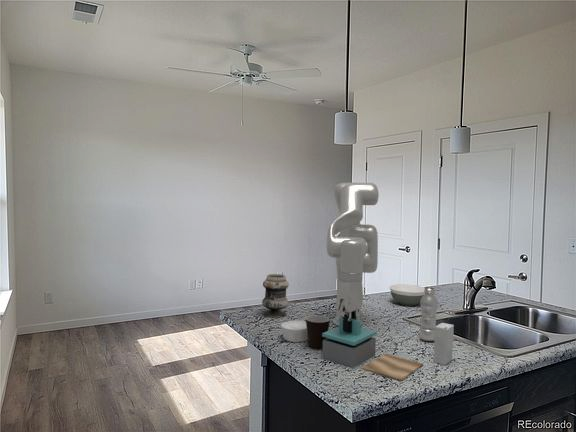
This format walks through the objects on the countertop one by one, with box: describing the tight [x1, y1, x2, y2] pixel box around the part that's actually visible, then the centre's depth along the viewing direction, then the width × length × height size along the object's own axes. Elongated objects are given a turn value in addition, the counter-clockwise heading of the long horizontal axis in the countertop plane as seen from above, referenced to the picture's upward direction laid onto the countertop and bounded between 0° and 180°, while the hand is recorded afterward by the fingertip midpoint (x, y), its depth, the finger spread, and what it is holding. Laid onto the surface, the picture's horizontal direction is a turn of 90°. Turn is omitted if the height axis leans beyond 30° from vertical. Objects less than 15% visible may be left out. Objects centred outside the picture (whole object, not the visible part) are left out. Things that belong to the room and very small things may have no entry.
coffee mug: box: [305, 315, 331, 351], centre depth 150 cm, size 12×9×10 cm
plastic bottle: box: [418, 286, 439, 342], centre depth 157 cm, size 6×7×20 cm
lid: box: [322, 317, 378, 346], centre depth 139 cm, size 14×12×6 cm
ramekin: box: [280, 320, 308, 343], centre depth 157 cm, size 11×11×5 cm
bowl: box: [389, 283, 425, 307], centre depth 213 cm, size 19×19×8 cm
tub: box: [321, 336, 377, 368], centre depth 139 cm, size 14×12×6 cm
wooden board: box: [361, 353, 424, 382], centre depth 131 cm, size 16×13×1 cm
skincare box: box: [433, 322, 455, 366], centre depth 137 cm, size 6×4×12 cm
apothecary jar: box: [261, 273, 290, 319], centre depth 188 cm, size 12×12×18 cm
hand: (349, 330), depth 139 cm, fingers closed on lid
